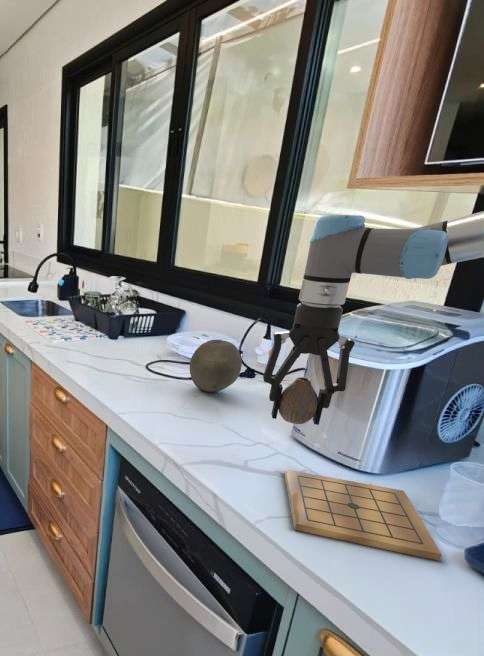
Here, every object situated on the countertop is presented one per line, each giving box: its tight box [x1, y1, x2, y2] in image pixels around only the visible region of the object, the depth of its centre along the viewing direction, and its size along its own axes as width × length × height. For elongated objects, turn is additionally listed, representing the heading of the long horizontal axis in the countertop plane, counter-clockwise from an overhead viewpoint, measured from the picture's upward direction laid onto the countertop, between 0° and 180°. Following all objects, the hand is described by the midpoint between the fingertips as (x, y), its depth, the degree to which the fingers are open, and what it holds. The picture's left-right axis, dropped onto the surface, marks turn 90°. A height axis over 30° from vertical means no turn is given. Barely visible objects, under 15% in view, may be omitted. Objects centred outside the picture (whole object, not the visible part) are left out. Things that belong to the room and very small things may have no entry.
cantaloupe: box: [189, 339, 243, 393], centre depth 141 cm, size 14×14×15 cm
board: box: [284, 469, 443, 562], centre depth 88 cm, size 20×20×1 cm
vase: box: [278, 376, 318, 425], centre depth 100 cm, size 7×7×9 cm
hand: (294, 419), depth 101 cm, fingers closed on vase, 7 cm apart
